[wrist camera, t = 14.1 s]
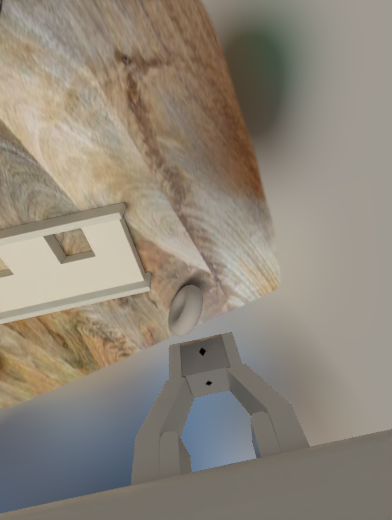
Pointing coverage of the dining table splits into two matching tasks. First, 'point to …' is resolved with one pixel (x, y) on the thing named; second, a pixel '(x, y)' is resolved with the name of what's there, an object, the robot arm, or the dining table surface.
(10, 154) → the dining table surface
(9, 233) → the tray
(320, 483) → the robot arm
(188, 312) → the donut
